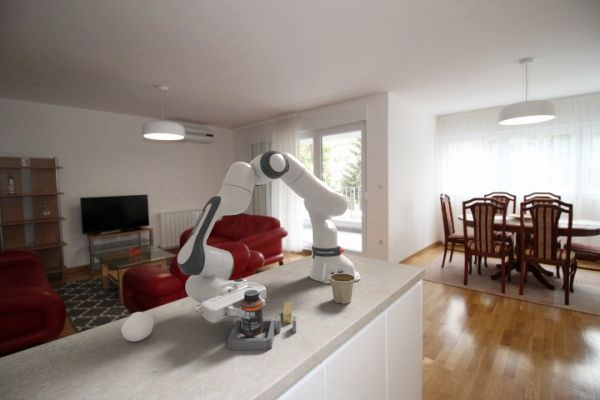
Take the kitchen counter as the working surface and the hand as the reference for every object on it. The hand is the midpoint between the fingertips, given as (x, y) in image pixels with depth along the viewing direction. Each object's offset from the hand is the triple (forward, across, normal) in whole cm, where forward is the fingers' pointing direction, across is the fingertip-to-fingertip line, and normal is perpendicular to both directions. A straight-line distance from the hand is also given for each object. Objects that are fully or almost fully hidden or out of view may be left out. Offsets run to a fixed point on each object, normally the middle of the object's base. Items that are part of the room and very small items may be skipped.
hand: (254, 308), depth 77 cm
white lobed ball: (-26, -19, +9) cm, 34 cm away
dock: (+2, +2, +9) cm, 9 cm away
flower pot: (+7, +36, +9) cm, 38 cm away
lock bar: (-1, +15, +9) cm, 17 cm away
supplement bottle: (-1, 0, +7) cm, 7 cm away
